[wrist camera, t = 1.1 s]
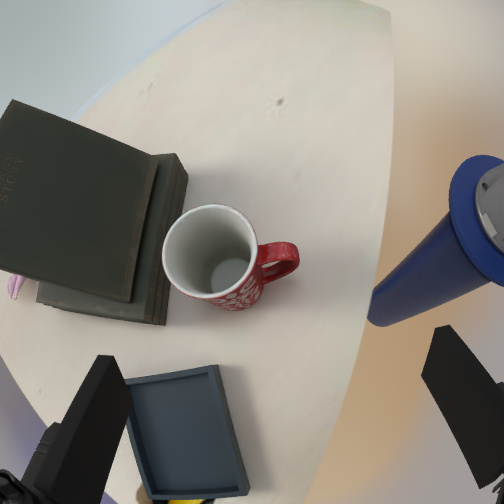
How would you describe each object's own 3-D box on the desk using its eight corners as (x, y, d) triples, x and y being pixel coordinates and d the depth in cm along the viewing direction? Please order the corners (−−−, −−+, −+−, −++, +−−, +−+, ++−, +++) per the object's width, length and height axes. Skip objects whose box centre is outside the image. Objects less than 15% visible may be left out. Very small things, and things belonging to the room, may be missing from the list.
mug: (199, 318, 39) (156, 298, 27) (203, 251, 42) (166, 206, 30) (299, 318, 38) (301, 297, 25) (297, 248, 41) (297, 198, 28)
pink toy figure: (39, 229, 50) (10, 299, 43) (22, 213, 45) (-11, 286, 38) (58, 232, 49) (28, 307, 42) (41, 214, 44) (6, 293, 37)
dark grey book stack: (165, 326, 39) (24, 277, 16) (60, 309, 42) (-66, 262, 19) (189, 176, 47) (119, 49, 23) (91, 183, 50) (6, 95, 26)
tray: (217, 364, 37) (212, 364, 34) (250, 487, 31) (247, 495, 28) (125, 379, 38) (116, 380, 35) (156, 493, 31) (148, 499, 29)
